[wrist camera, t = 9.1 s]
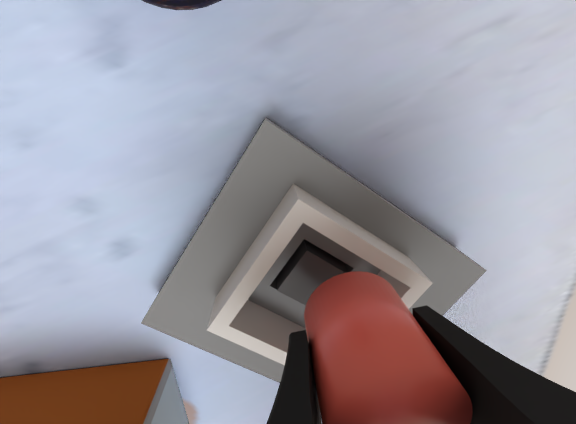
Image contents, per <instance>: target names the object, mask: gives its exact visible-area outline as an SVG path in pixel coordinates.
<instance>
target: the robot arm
mask: <svg viewBox="0 0 576 424" xmlns="http://www.w3.org/2000/svg"><path fill="white" fill-rule="evenodd" d="M412 312H413V316H414V318H415V319H416V321H417V322H418V323H419V325H420V326H421V328H422V329H423V331H424V332H425V333H426V335H427V336H428V338H429V339H430V340H431V342H432V343H433V345H434V346H435V348H436V349H437V350H438V352H439V353H440V355H441V356H442V358H443V359H444V360H445V362H446V363H447V365H448V366H449V367H450V369H451V370H452V372H453V373H454V375H455V376H456V377H457V379H458V380H459V382H460V383H461V385H462V386H463V387H464V389H465V390H466V392H467V393H468V395H469V397H470V399H471V403H472V410H473V413H472V420H471V423H470V424H576V392H574V391H572V390H570V389H567V388H565V387H563V386H561V385H559V384H557V383H555V382H552V381H550V380H548V379H546V378H544V377H542V376H541V375H539V374H537V373H535V372H533V371H531V370H529V369H527V368H525V367H523V366H521V365H519V364H518V363H516V362H514V361H512V360H510V359H509V358H507V357H505V356H504V355H502V354H500V353H499V352H497V351H495V350H493V349H492V348H490V347H489V346H487V345H485V344H484V343H482V342H481V341H479V340H477V339H476V338H474V337H473V336H471V335H470V334H468V333H467V332H465V331H464V330H462V329H461V328H459V327H458V326H456V325H455V324H453V323H452V322H450V321H449V320H448V319H446V318H445V317H443V316H442V315H440V314H439V313H437V312H436V311H435V310H433V309H432V308H430V307H429V306H427V305H426V306H421V307H416V308H412ZM267 424H321V414H320V407H319V401H318V396H317V390H316V384H315V378H314V373H313V366H312V360H311V354H310V349H309V343H308V338H307V334H306V330H302V331H297V332H292V333H291V334H290V335H289V343H288V350H287V356H286V361H285V366H284V370H283V374H282V378H281V382H280V385H279V389H278V392H277V395H276V398H275V402H274V405H273V408H272V410H271V413H270V416H269V419H268V421H267Z"/></svg>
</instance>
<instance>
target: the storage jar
mask: <svg viewBox="0 0 576 424" xmlns="http://www.w3.org/2000/svg"><path fill="white" fill-rule="evenodd" d="M142 1H144V2H146V3H149V4H152V5H155V6H158V7H161V8H167V9H174V10H193V9H198V8H202V7H207V6H209V5H212V4H214V3H216V2H219V1H221V0H142Z"/></svg>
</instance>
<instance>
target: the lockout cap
mask: <svg viewBox="0 0 576 424" xmlns="http://www.w3.org/2000/svg"><path fill="white" fill-rule="evenodd" d="M304 320H305V327H306V332H307V338H308V343H309V349H310V354H311V360H312V366H313V373H314V378H315V384H316V390H317V396H318V401H319V407H320V413H321V419H322V424H470V423H471V420H472V413H473V410H472V403H471V399H470V397H469V395H468V393H467V392H466V390H465V389H464V387H463V386H462V385H461V383H460V382H459V380H458V379H457V377H456V376H455V375H454V373H453V372H452V370H451V369H450V367H449V366H448V365H447V363H446V362H445V360H444V359H443V358H442V356H441V355H440V353H439V352H438V350H437V349H436V348H435V346H434V345H433V343H432V342H431V340H430V339H429V338H428V336H427V335H426V333H425V332H424V331H423V329H422V328H421V326H420V325H419V323H418V322H417V321H416V319H415V318H414V316H413V315H412V313H411V312H410V311H409V309H408V308H407V306H406V305H405V304H404V302H403V301H402V299H401V298H400V296H399V295H398V294H397V292H396V291H395V289H394V288H393V287H392V285H391V284H390V283H389V282H388V281H386V280H385V279H384V278H382V277H380V276H378V275H376V274H373V273H369V272H362V271H353V272H346V273H342V274H339V275H336V276H334V277H332V278H330V279H328V280H326V281H325V282H323V283H322V284H321V285H320V286H318V287H317V288H316V289H315V291H314V292H313V293H312V294H311V296H310V297H309V299H308V301H307V304H306V307H305V312H304Z"/></svg>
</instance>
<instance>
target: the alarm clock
mask: <svg viewBox="0 0 576 424" xmlns="http://www.w3.org/2000/svg"><path fill="white" fill-rule="evenodd" d="M0 424H189V421H188V418H187V414H186V411H185V407H184V404H183V400H182V397H181V394H180V391H179V387H178V384H177V380H176V377H175V373H174V370H173V366H172V363H171V360H170V359H161V360H153V361H144V362H135V363H126V364H117V365H109V366H100V367H91V368H82V369H73V370H65V371H56V372H47V373H38V374H29V375H21V376H12V377H3V378H0Z"/></svg>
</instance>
